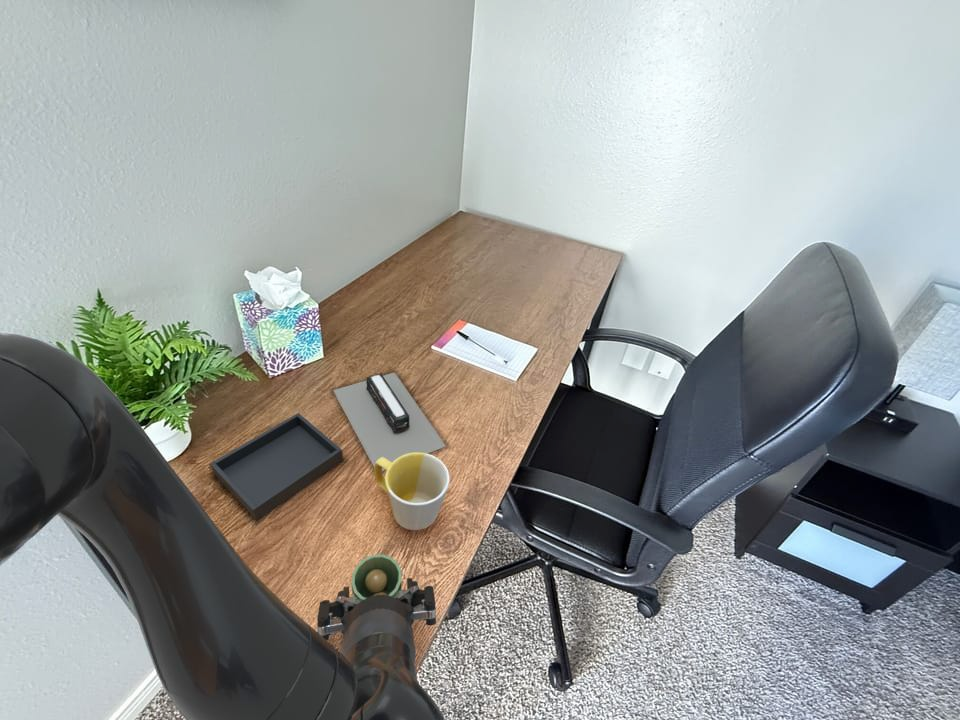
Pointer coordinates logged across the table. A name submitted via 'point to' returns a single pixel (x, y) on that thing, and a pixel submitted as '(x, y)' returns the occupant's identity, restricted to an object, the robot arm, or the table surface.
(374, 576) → the ball
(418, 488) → the mug
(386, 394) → the grey flat rectangular panel
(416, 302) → the table surface
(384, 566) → the tumbler
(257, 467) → the tray
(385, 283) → the table surface
